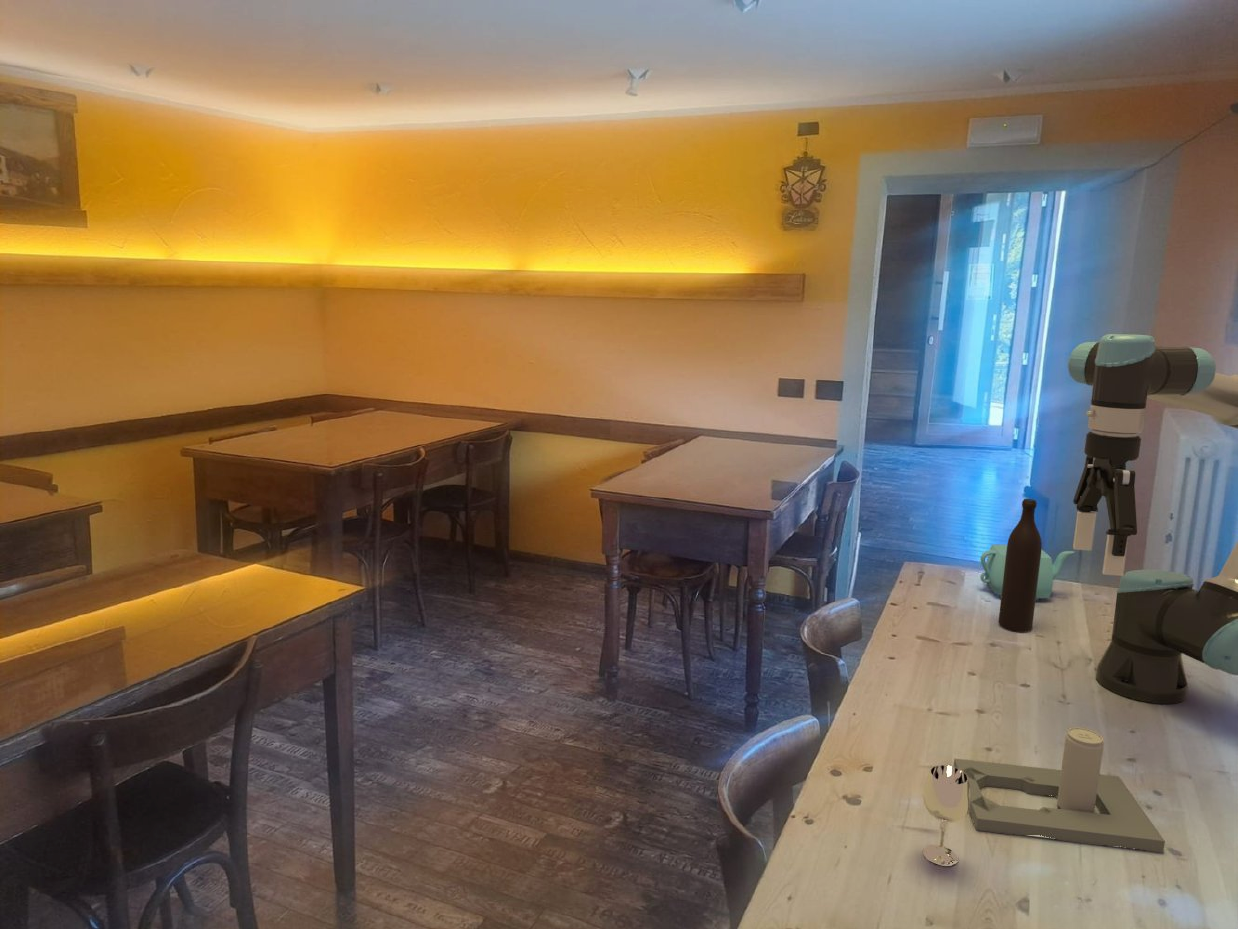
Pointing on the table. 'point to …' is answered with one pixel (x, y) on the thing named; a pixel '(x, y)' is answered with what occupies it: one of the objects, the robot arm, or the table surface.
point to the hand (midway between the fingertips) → (1096, 561)
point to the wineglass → (945, 806)
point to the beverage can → (1080, 770)
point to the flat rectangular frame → (1113, 799)
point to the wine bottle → (1021, 573)
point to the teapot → (997, 565)
